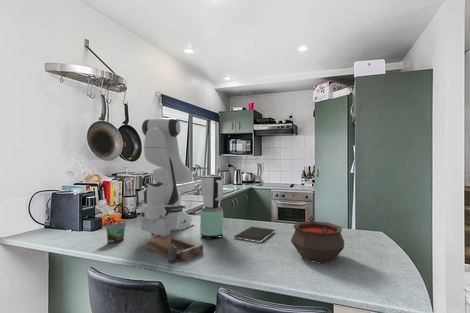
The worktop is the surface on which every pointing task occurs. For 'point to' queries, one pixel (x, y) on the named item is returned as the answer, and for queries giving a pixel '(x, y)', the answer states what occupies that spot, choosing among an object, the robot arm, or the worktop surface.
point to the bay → (172, 251)
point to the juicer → (211, 206)
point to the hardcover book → (254, 233)
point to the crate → (162, 240)
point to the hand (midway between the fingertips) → (155, 241)
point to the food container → (115, 232)
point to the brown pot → (318, 240)
